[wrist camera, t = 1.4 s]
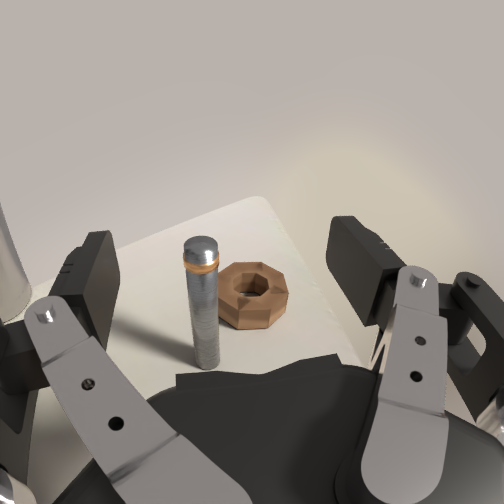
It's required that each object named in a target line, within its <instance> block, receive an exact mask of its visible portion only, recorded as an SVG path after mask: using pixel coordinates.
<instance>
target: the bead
mask: <svg viewBox="0 0 504 504" xmlns="http://www.w3.org/2000/svg"><path fill="white" fill-rule="evenodd" d="M250 291H255V292H256V293H258V294H260V295H261V296H256V297H245V296H243V295H241V294H240V292H250ZM288 294H289V293H288V289H287V286H286V282H285V279H284V275H283V273H281V272H279V271H277V270H275V269H273V268H271V267H269V266H267V265H266V264H264V263H262V262H236V263H232V264H231V265H229V266H228V267H227V268H225V269H224V270H222V271H221V272H219V273H218V313H219V317H221V318H222V319H223V320H225V321H226V322H228V323H229V324H231V325H232V326H234V327H235V328H237V329H258V328H269V327H270V326H271V325H272V324H273V323H274V322H275V321H276V320H277V319H278V318H279V317H280V316H281V315H282V314H283V313H284V312H285V310H286V305H287V300H288Z"/></svg>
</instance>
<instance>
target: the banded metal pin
mask: <svg viewBox="0 0 504 504" xmlns="http://www.w3.org/2000/svg"><path fill="white" fill-rule="evenodd" d="M183 260H184V267H185V268H186V278H187V288H188V298H189V308H190V317H191V325H192V334H193V342H194V350H195V357H196V363H197V365H198V366H199V367H200V368H202V369H205V370H211V369H214V368H216V367H217V366H218V365H219V362H220V351H219V313H218V266H219V252H218V244H217V242H216V240H214V239H213V238H211V237H208V236H195V237H192V238H190V239H188V240H187V241H186V242H185V243H184V253H183Z"/></svg>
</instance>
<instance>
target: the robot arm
mask: <svg viewBox="0 0 504 504" xmlns="http://www.w3.org/2000/svg"><path fill="white" fill-rule="evenodd" d="M326 263H327V266H328V269H329V270H330V272H331V273H332V275H333V276H334V278H335V280H336V281H337V283H338V284H339V286H340V288H341V289H342V291H343V292H344V294H345V295H346V297H347V298H348V300H349V302H350V303H351V305H352V307H353V308H354V310H355V312H356V313H357V315H358V316H359V318H360V320H361V322H362V323H363V325H364V326H365V327H366V326H371V325H376V324H378V326H379V329H378V332H377V334H376V338H375V343H374V346H373V350H372V353H371V357H370V360H369V364H368V367H367V369H366V368H363V367H359V366H353V365H344V364H341V361H340V359H339V357H338V355H337V353H336V354H331V355H325V356H320V357H315V358H309V359H303V360H299V361H296V362H294V363H291V364H289V365H286V366H284V367H281V368H279V369H276V370H273V371H271V372H268V373H265V374H245V373H234V372H223V371H210V372H198V373H184V374H176V386H175V387H172V388H168V389H166V390H164V391H161V392H159V393H157V394H155V395H153V396H152V397H150V398H149V399H147V400H145V399H144V398H143V397H142V396H141V394H140V393H139V392H138V391H137V390H136V389H135V388H134V386H133V385H132V384H131V383H130V382H129V380H128V379H127V378H126V377H125V376H124V374H123V373H122V372H121V371H120V370H119V368H118V367H117V366H116V365H115V363H114V362H113V361H112V360H111V358H110V357H109V356H108V354H107V353H106V348H107V342H108V337H109V332H110V327H111V322H112V317H113V312H114V308H115V303H116V299H117V294H118V290H119V286H120V271H119V266H118V261H117V257H116V252H115V248H114V243H113V238H112V234H111V232H110V231H109V230H107V231H97V232H89V234H88V236H87V237H86V239H85V241H84V244H83V245H82V247H77V248H76V249H74V250H73V251H72V252H71V253H70V254H69V255H68V256H67V258H66V260H65V262H64V264H63V266H62V268H61V270H60V272H59V273H60V274H58V276H57V278H56V280H55V282H54V284H53V286H52V288H51V290H50V293H49V295H48V296H47V297H43V298H41V299H39V300H37V301H35V302H34V303H33V304H31V305H30V306H29V308H28V309H27V310H26V312H25V315H24V320H20V321H17V322H14V323H10V324H7V325H4V323H3V322H6V321H8V320H10V319H12V318H14V317H15V316H17V315H18V314H19V313H20V312H21V311H22V310H23V309H24V308H25V307H26V305H27V304H28V302H29V300H30V297H31V293H32V290H31V286H30V283H29V281H28V279H27V277H26V274H25V272H24V269H23V267H22V264H21V262H20V259H19V257H18V254H17V251H16V249H15V246H14V243H13V240H12V238H11V235H10V232H9V229H8V226H7V223H6V220H5V217H4V214H3V211H2V208H1V204H0V504H37V503H36V500H35V497H34V495H33V493H32V491H31V490H30V489H29V488H28V487H27V471H28V459H29V449H30V440H31V433H32V425H33V419H34V413H35V407H36V401H37V396H38V391H39V389H41V388H45V387H49V386H51V387H52V389H53V391H54V393H55V395H56V397H57V399H58V401H59V402H60V404H61V406H62V408H63V410H64V411H65V413H66V415H67V417H68V418H69V420H70V422H71V423H72V425H73V427H74V428H75V430H76V432H77V433H78V435H79V436H80V438H81V439H82V441H83V443H84V444H85V446H86V447H87V449H88V450H89V452H90V453H91V455H92V456H93V459H92V460H91V461H90V462H89V463H88V464H87V465H86V466H85V468H84V469H83V470H82V471H81V472H80V473H79V474H78V475H77V477H76V478H75V479H74V480H73V481H72V482H71V483H70V484H69V485H68V487H67V488H66V489H65V490H64V491H63V492H62V493H61V494H60V495H59V497H58V498H57V499H56V500H55V501H54V502H53V503H52V504H504V302H503V301H502V300H501V299H500V297H499V296H498V295H497V294H496V293H495V292H494V291H493V290H492V289H491V287H490V286H489V285H488V284H487V283H486V282H485V281H484V280H483V279H482V278H480V277H478V276H477V275H475V274H472V273H469V272H460V273H458V274H457V275H456V278H455V280H454V283H453V284H443V283H438V281H437V279H436V278H435V276H434V275H433V274H432V273H430V272H429V271H427V270H426V269H423V268H421V267H417V266H407V265H406V264H405V263H404V262H403V261H402V260H401V259H400V258H399V257H398V256H397V255H396V253H395V252H394V251H393V250H392V249H390V247H389V246H388V245H387V244H386V243H384V241H383V240H382V239H381V238H380V237H379V236H378V235H377V234H376V233H374V232H372V231H371V230H369V229H367V228H365V227H364V226H363V225H362V224H361V223H360V222H359V221H358V220H357V219H356V218H355V217H354V216H335V217H333V219H332V221H331V226H330V232H329V238H328V244H327V251H326ZM473 323H474V324H475V325H476V327H477V328H478V329H479V331H480V332H481V333H482V335H483V336H484V338H485V340H486V349H485V352H484V353H483V355H482V356H480V355H479V353H478V352H477V350H476V349H475V347H474V346H473V345H472V343H471V342H470V340H469V339H468V337H467V334H468V332H469V331H470V329H471V327H472V325H473ZM447 373H448V374H449V376H450V378H451V379H452V381H453V383H454V385H455V386H456V388H457V390H458V392H459V393H460V395H461V397H462V399H463V400H464V402H465V404H466V406H467V408H468V409H469V411H470V413H471V415H472V417H473V419H474V421H475V422H476V426H474V425H473V424H471V423H469V422H467V421H465V420H463V419H461V418H459V417H457V416H455V415H453V414H452V413H450V412H448V411H446V410H444V405H445V393H446V378H447V377H446V376H447Z"/></svg>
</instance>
